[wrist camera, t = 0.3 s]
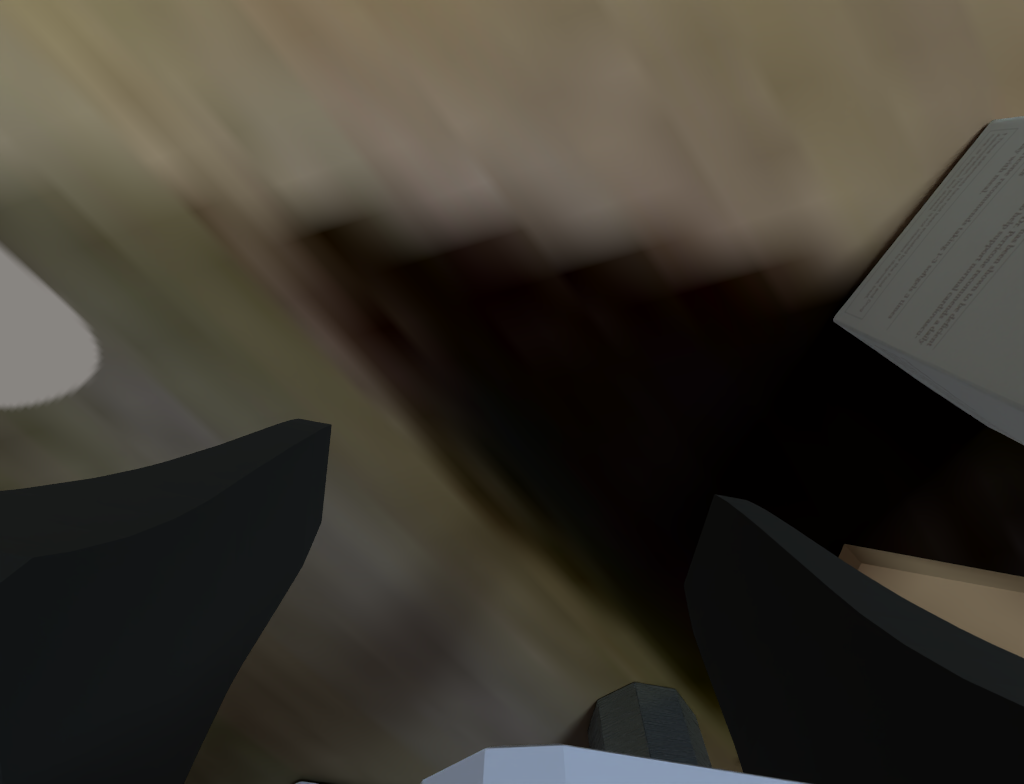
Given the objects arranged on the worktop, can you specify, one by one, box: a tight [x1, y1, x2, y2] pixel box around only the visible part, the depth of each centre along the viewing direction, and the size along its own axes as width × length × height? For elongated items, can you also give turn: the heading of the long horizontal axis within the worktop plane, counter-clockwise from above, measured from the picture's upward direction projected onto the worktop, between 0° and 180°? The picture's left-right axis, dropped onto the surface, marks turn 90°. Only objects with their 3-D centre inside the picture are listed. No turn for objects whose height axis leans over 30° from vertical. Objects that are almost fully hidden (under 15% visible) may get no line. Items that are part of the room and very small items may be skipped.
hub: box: [588, 682, 712, 768], centre depth 24 cm, size 4×4×5 cm
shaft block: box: [838, 544, 1024, 658], centre depth 22 cm, size 10×8×6 cm
